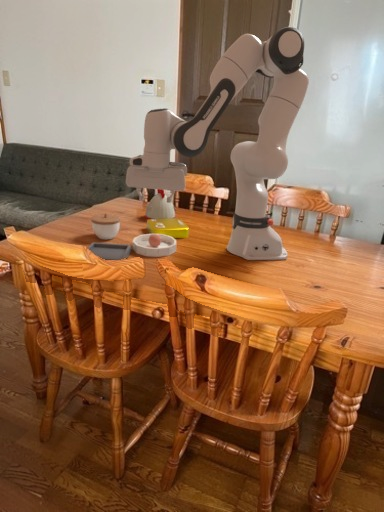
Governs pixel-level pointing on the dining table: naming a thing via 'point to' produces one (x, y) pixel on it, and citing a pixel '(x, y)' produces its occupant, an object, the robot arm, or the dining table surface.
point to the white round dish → (146, 249)
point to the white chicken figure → (159, 207)
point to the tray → (110, 250)
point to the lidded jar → (105, 225)
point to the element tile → (168, 227)
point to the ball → (154, 240)
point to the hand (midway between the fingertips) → (155, 201)
